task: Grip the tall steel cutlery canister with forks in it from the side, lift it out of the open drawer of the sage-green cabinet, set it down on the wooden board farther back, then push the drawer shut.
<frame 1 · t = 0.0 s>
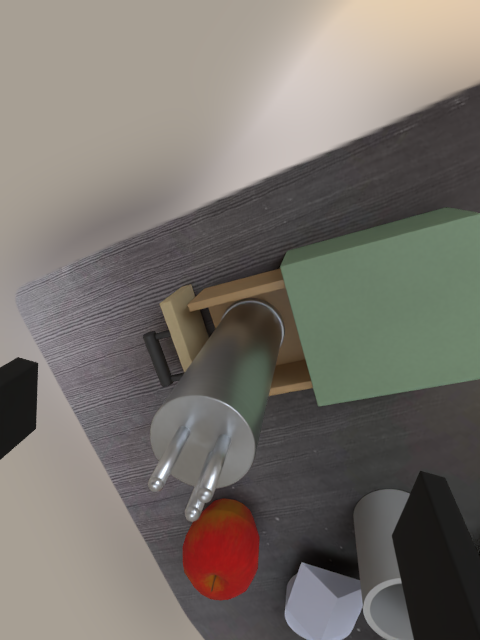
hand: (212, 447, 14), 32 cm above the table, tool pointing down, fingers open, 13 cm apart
drawer: (235, 339, 42), point 4 cm above the table, slide at 11.0 cm, touching cutlery canister
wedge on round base: (322, 583, 57), on the table
cabinet: (376, 294, 43), on the table
apple: (232, 508, 55), on the table
cup: (390, 517, 51), on the table
cutlery canister: (252, 328, 44), point 2 cm above the table, touching drawer
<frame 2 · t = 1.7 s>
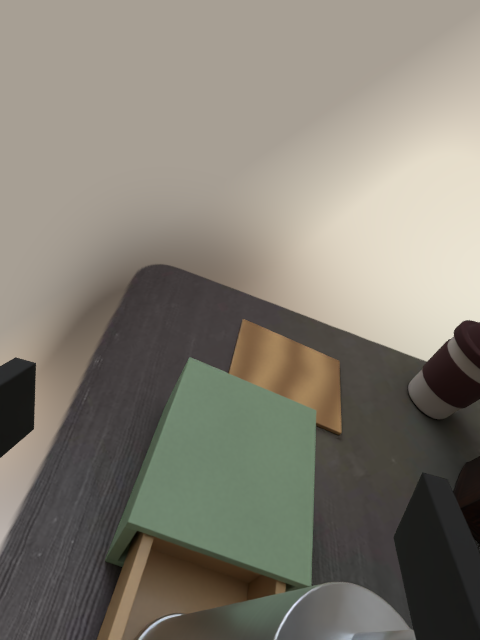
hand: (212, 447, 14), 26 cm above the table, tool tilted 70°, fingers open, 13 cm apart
manual coffee grinder: (472, 501, 53), on the table
cabinet: (206, 496, 39), on the table
coffee cup: (425, 400, 64), on the table
wooden board: (286, 374, 56), on the table
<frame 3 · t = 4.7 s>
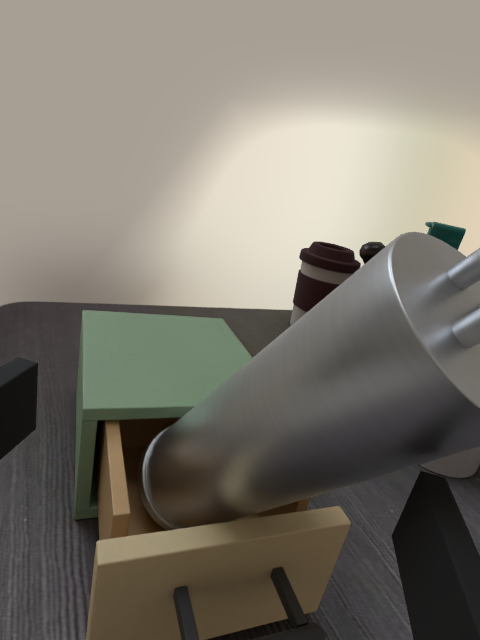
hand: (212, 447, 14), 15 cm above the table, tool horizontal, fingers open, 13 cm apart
drawer: (200, 509, 24), point 4 cm above the table, slide at 8.3 cm, touching cutlery canister
teal bottle: (399, 342, 76), on the table
manual coffee grinder: (381, 374, 60), on the table
cabinet: (158, 438, 36), on the table
coffee cup: (309, 331, 72), on the table
cup: (430, 448, 44), on the table
cutlery canister: (188, 476, 27), point 4 cm above the table, tilted 37°, touching cabinet, drawer, gripper
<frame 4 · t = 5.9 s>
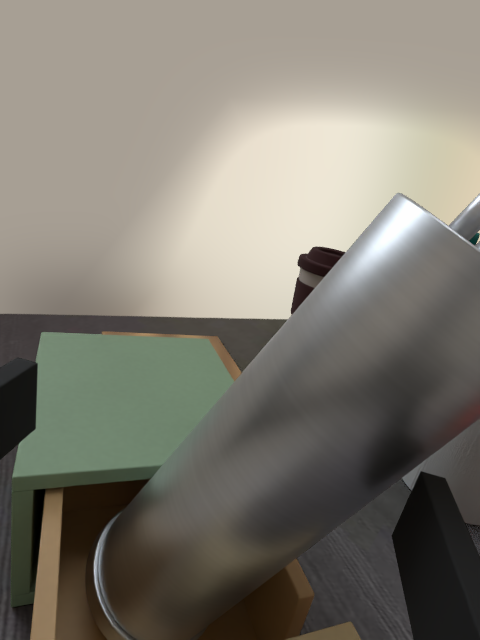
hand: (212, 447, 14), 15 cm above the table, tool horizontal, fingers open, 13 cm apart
drawer: (167, 611, 19), point 4 cm above the table, slide at 8.6 cm
cabinet: (129, 484, 31), on the table
coffee cup: (308, 343, 66), on the table
cup: (446, 486, 39), on the table
wooden board: (171, 360, 51), on the table
cutlery canister: (151, 576, 21), point 4 cm above the table, tilted 25°, touching gripper
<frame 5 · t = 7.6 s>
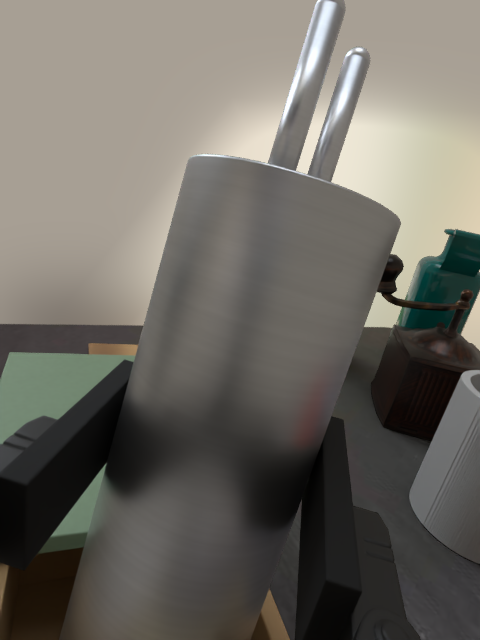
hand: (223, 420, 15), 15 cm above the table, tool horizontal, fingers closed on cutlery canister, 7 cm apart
teal bottle: (413, 365, 67), on the table
manual coffee grinder: (395, 410, 51), on the table
cabinet: (107, 525, 27), on the table
cup: (463, 520, 35), on the table
wooden board: (162, 374, 47), on the table
when the fingers open (14 cm above the table, at t = 18.9 s): cutlery canister stays where it is, resting on wooden board.
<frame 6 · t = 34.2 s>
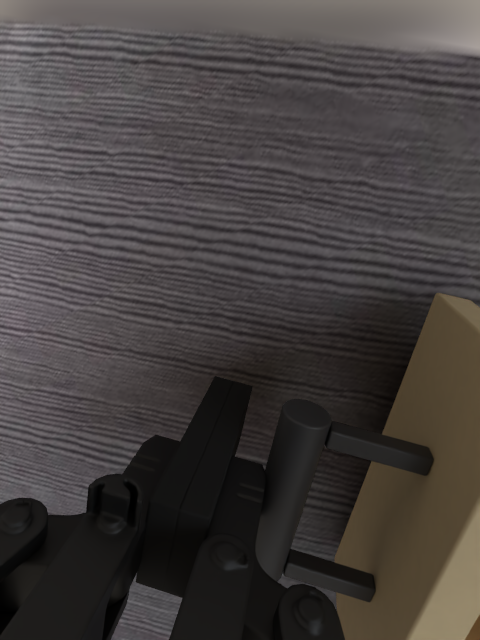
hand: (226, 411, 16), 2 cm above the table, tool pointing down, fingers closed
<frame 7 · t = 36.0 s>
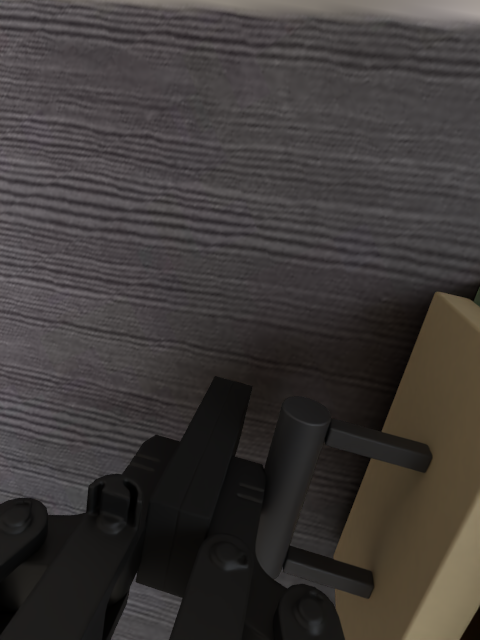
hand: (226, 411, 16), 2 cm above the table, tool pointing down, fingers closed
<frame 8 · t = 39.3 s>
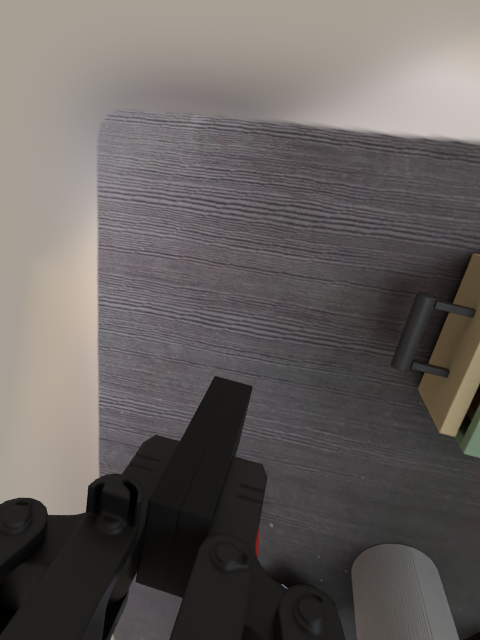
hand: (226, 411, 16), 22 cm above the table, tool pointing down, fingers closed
cup: (393, 574, 45), on the table
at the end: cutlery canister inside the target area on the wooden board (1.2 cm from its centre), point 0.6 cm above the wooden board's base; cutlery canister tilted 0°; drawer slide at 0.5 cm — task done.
